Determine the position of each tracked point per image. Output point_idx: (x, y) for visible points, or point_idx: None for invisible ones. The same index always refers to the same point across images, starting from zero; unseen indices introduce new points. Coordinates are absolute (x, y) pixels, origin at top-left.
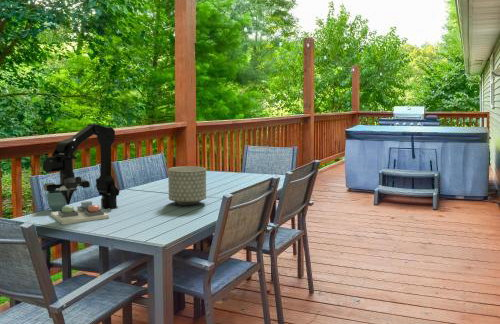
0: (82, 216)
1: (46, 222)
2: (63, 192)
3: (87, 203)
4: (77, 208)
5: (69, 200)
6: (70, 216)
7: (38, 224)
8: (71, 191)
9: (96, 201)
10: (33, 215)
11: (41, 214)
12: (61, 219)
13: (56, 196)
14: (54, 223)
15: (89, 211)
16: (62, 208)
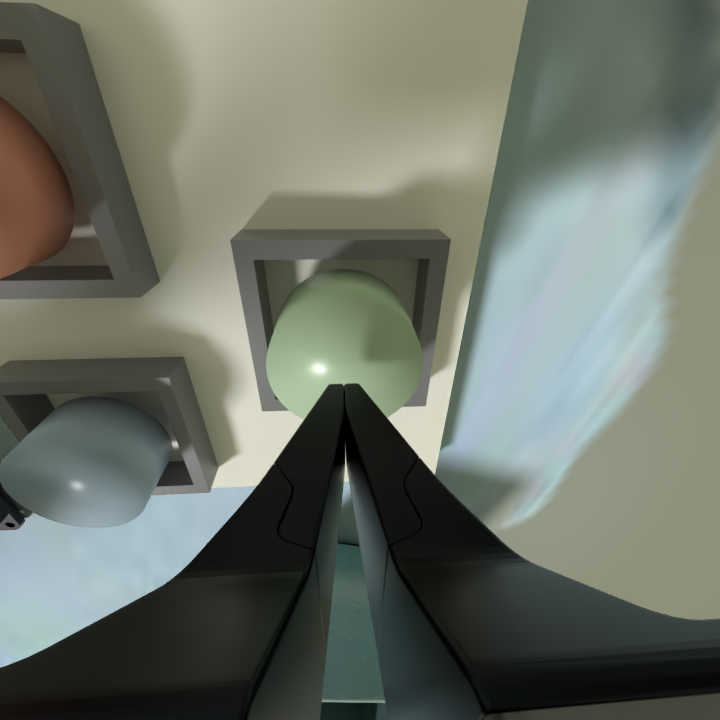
0: (189, 117)
1: (579, 251)
2: (588, 592)
3: (57, 442)
4: (214, 475)
5: (323, 417)
6: (342, 229)
7: (682, 209)
8: (231, 623)
9: (83, 624)
10: (512, 501)
11: (463, 503)
12: (500, 111)
13: (357, 659)
14: (553, 144)
15: (33, 144)
16: (420, 361)
